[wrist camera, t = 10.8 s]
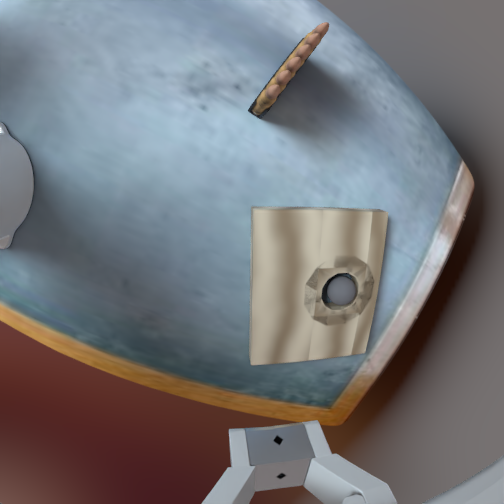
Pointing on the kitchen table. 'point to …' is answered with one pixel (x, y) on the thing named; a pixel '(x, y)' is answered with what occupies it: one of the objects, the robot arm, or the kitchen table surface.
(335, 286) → the ball
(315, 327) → the board
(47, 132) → the kitchen table surface
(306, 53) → the ammunition clip
